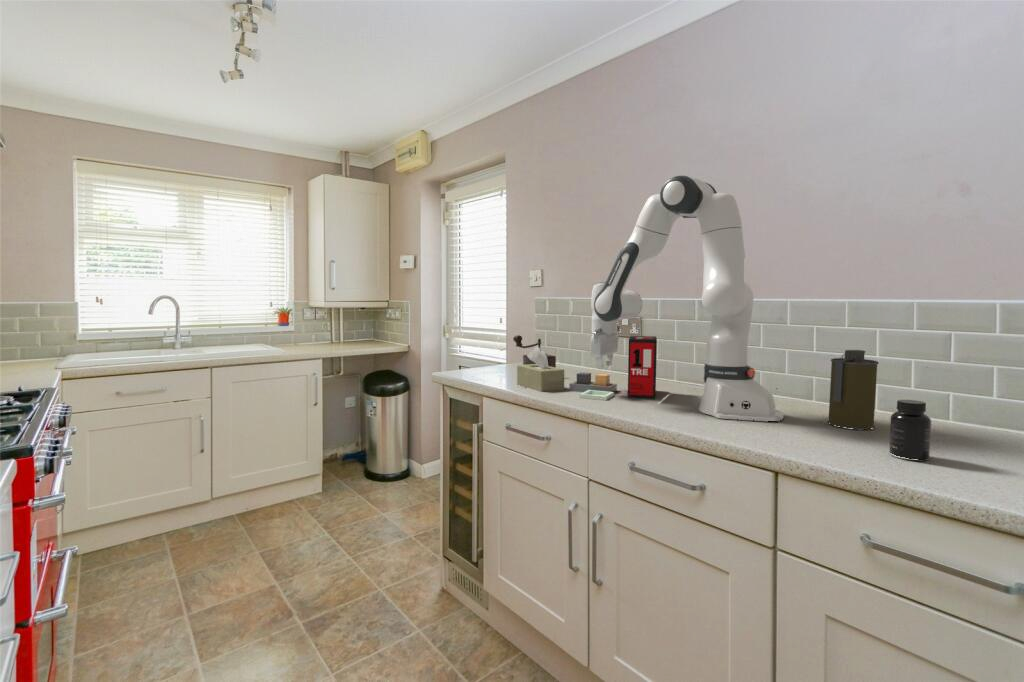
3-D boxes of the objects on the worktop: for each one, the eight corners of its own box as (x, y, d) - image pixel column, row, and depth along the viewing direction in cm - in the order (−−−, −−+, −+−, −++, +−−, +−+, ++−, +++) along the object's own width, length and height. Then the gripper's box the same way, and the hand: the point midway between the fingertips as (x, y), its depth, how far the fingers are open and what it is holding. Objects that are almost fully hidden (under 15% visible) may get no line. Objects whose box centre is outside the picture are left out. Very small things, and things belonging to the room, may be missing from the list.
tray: (613, 397, 174) (614, 392, 174) (605, 402, 166) (605, 396, 166) (588, 394, 178) (588, 389, 178) (579, 399, 170) (579, 394, 170)
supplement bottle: (911, 451, 113) (914, 398, 112) (937, 461, 106) (942, 404, 105) (880, 452, 112) (884, 398, 111) (905, 462, 106) (909, 405, 105)
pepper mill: (541, 374, 225) (541, 333, 224) (556, 377, 216) (556, 335, 214) (511, 377, 217) (511, 335, 216) (525, 381, 208) (525, 336, 206)
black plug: (590, 389, 186) (591, 373, 185) (587, 391, 182) (587, 374, 182) (580, 388, 188) (580, 372, 187) (576, 390, 184) (576, 373, 184)
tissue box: (516, 385, 198) (516, 345, 196) (538, 383, 202) (538, 343, 201) (541, 393, 181) (542, 349, 180) (564, 391, 186) (565, 348, 184)
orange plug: (609, 391, 183) (609, 374, 182) (606, 392, 179) (606, 375, 179) (598, 390, 185) (598, 373, 184) (595, 391, 181) (595, 375, 181)
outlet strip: (616, 392, 184) (616, 383, 183) (609, 395, 177) (610, 387, 176) (577, 388, 191) (577, 380, 190) (569, 392, 184) (569, 383, 183)
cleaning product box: (629, 390, 187) (630, 335, 185) (654, 391, 184) (656, 336, 182) (627, 399, 171) (628, 339, 169) (655, 400, 168) (656, 340, 167)
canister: (845, 419, 143) (849, 347, 141) (884, 428, 133) (888, 351, 131) (817, 422, 139) (821, 349, 137) (855, 432, 129) (859, 353, 127)
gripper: (603, 329, 169) (604, 371, 170) (621, 326, 187) (621, 364, 188) (585, 329, 172) (586, 370, 173) (604, 326, 190) (605, 363, 191)
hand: (604, 367), depth 181 cm, fingers open, 8 cm apart
